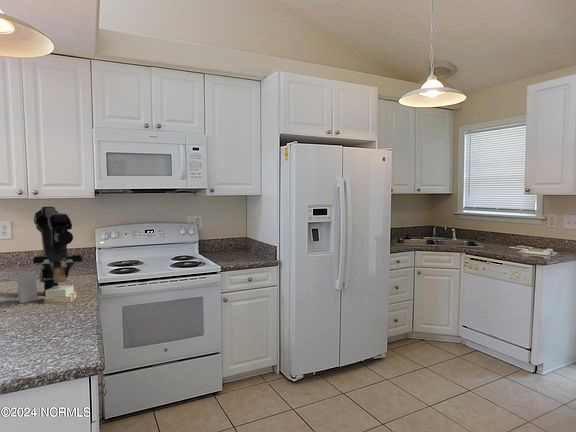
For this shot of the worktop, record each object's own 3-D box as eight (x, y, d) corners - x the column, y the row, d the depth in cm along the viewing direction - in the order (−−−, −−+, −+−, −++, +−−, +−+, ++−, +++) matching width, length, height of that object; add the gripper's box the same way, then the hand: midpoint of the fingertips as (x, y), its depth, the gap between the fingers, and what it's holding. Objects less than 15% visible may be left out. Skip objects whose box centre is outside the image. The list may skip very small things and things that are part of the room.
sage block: (54, 292, 170) (54, 286, 170) (73, 292, 171) (73, 285, 171) (45, 297, 162) (45, 290, 162) (65, 296, 163) (65, 289, 163)
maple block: (51, 299, 171) (51, 292, 170) (76, 297, 174) (76, 291, 173) (44, 305, 161) (44, 298, 161) (71, 303, 164) (70, 296, 164)
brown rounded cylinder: (55, 280, 169) (54, 267, 168) (67, 280, 170) (67, 266, 170) (51, 283, 164) (51, 269, 164) (65, 282, 165) (64, 268, 165)
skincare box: (34, 298, 169) (33, 272, 168) (37, 300, 166) (36, 273, 166) (17, 301, 164) (17, 274, 164) (21, 303, 161) (20, 275, 161)
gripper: (28, 245, 156) (29, 283, 156) (79, 243, 161) (79, 280, 162) (36, 242, 166) (37, 278, 167) (84, 241, 172) (85, 275, 173)
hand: (60, 278), depth 167 cm, fingers closed on brown rounded cylinder, 5 cm apart
